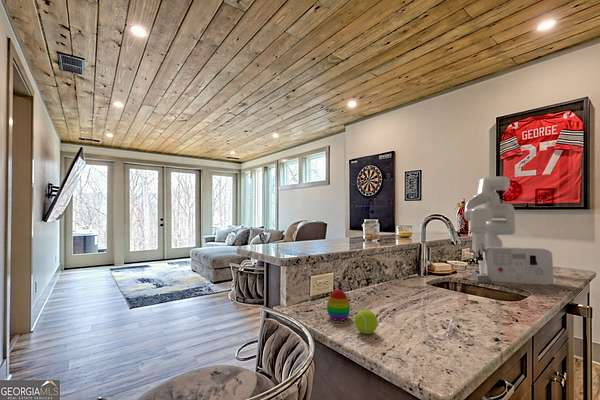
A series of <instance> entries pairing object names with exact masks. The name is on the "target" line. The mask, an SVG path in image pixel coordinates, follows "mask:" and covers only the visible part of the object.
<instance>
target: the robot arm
mask: <svg viewBox="0 0 600 400" xmlns="http://www.w3.org/2000/svg"><path fill="white" fill-rule="evenodd" d="M476 184H477V188H476V195H473V196H472V197H471V198H469V199H468V200H467V202H466V204H465V207H464V211H463V218H464V219H465V221H468V222H470V234H471V250H472V251H473V252H475V264H477V265H479V263H478V260H479V261H484V252H485V251H486V248H487V247H503V240H502V239H501V238H500V237H499V236H514V235H515V233H516V215H515V213H516V212H515V208H514V206H513V204H511V203H500V195H499V194H498V193H497V191H508V190H509V189H510V186H511V180H510V178H509V177H508V176H503V175H502V176H501V175H500V176H485V177H482V178H479V179H478V180H477V183H476ZM481 205H483V206H484V207H478V206H481ZM493 219H495V220H493ZM498 219H499V220H498ZM500 219H501V220H500ZM502 219H504V220H502ZM484 269H485V264H484Z"/></svg>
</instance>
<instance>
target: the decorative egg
mask: <svg viewBox="0 0 600 400" xmlns="http://www.w3.org/2000/svg"><path fill="white" fill-rule="evenodd" d="M350 303H351V302H350V300H349V298H348V295H347V294H346V293H345V292H344V291H343V290H341V289H338V288H337V289H335V290H333V291H332V292H331V293H330V294H329V297H328V298H327V304H326V307H327V308H326V309H327V312H328V316H329V317H330V319H332V320H334V319H336V320H335V321H343V320H342V319H345V320H346V319H347V318H348V317H349V314H350V312H351V306H350Z"/></svg>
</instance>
